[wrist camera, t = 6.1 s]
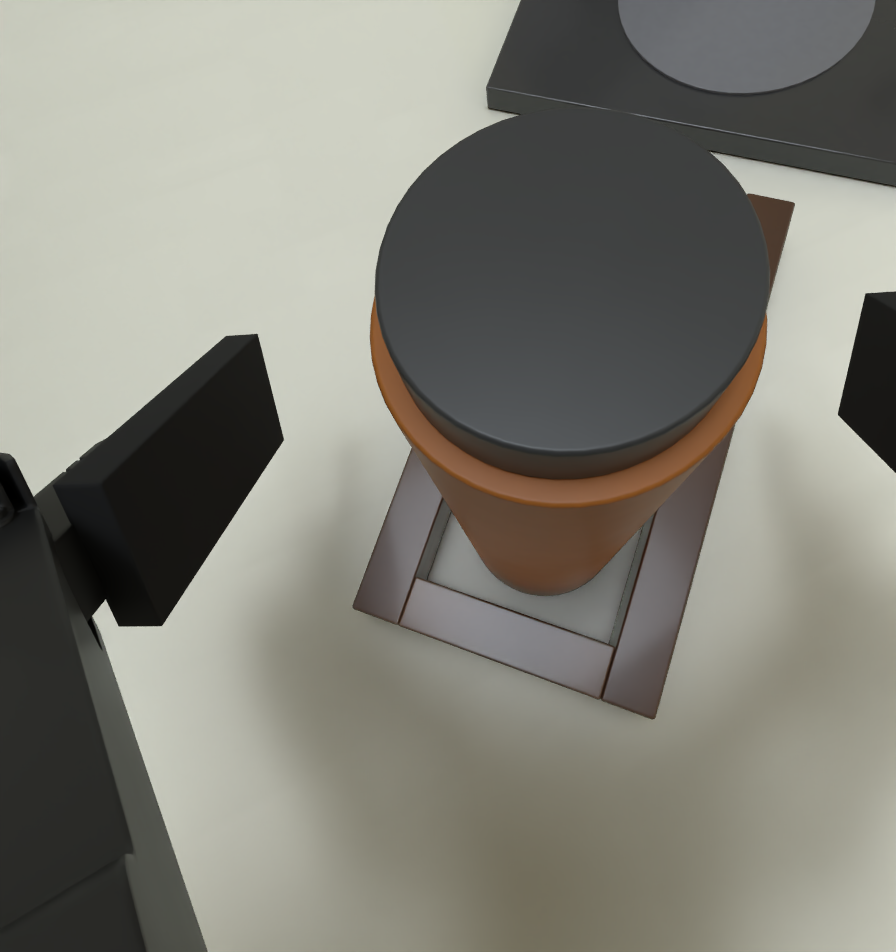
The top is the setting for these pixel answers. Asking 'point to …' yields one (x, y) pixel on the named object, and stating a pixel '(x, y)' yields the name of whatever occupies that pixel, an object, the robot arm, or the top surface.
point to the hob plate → (719, 73)
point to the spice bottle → (568, 331)
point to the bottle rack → (540, 643)
